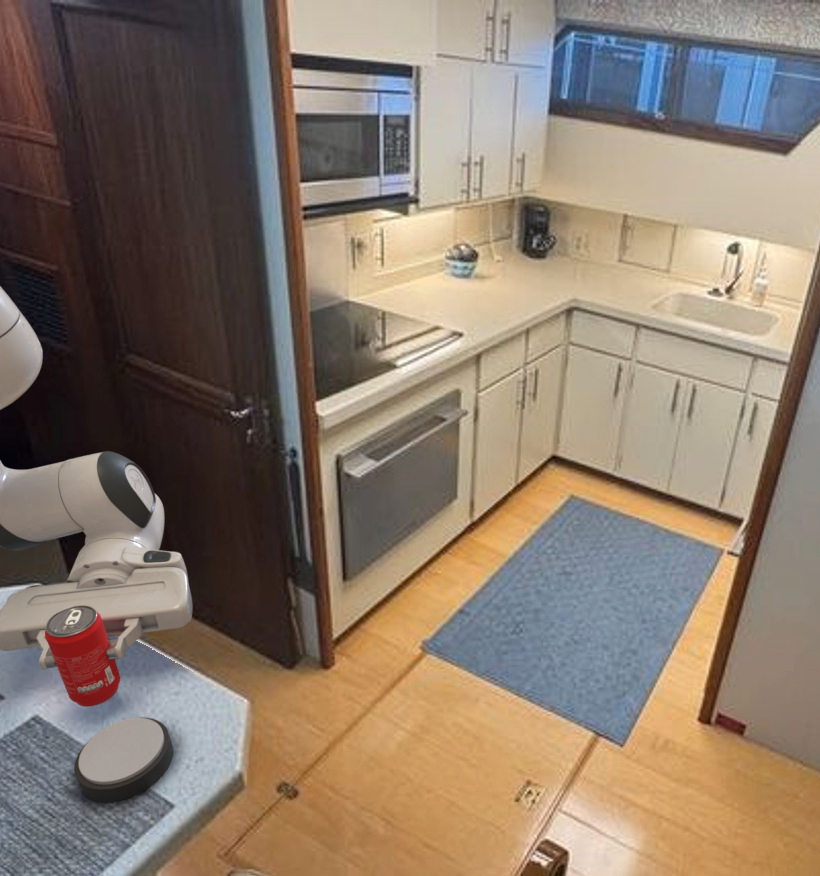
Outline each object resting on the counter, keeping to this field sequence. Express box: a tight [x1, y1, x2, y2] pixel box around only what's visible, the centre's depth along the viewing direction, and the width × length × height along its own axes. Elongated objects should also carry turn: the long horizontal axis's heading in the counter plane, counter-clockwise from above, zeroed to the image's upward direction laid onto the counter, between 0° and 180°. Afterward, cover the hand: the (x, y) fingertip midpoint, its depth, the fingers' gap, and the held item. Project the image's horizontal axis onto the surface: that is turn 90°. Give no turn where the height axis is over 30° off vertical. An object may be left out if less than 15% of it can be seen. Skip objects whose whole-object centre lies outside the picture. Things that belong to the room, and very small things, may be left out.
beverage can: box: [45, 605, 122, 708], centre depth 81 cm, size 5×5×12 cm
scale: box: [73, 716, 174, 803], centre depth 78 cm, size 9×9×3 cm
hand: (82, 659), depth 80 cm, fingers closed on beverage can, 5 cm apart
